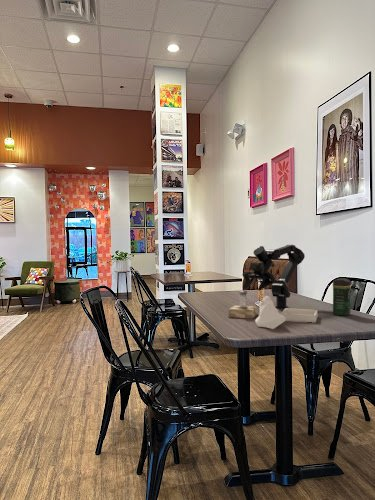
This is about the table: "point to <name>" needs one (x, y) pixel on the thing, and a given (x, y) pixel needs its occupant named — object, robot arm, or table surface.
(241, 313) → the block
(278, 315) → the white tetrapod block
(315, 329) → the table surface
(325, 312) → the table surface
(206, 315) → the table surface
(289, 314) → the tray
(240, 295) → the steel pin
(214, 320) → the table surface
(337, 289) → the coffee jar
